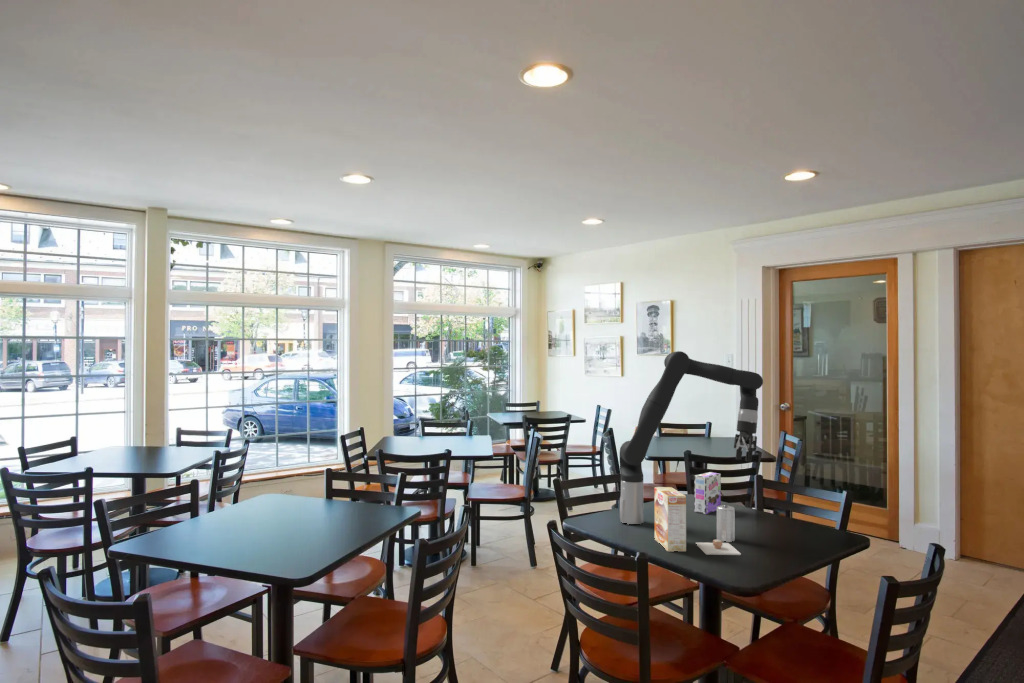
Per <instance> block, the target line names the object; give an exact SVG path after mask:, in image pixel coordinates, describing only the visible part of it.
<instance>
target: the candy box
mask: <svg viewBox="0 0 1024 683" xmlns="http://www.w3.org/2000/svg"><path fill="white" fill-rule="evenodd" d="M721 475H722V474H721V473H717V472H713V471H709V472H704V473H700V474H695V475H694V477H693V478H694V482H693V484H694V485H693V486H694V487H693V488H694V489H693V490H694V491H693V492H694V493H693V497H694V501H693V502H694V504H693V512H694V513H698V514H702V515H708V514H711V513H713V512H717V506H719V505H722V503H721V502H722V493H721V492H722V489H721V488H722V486H721V485H722V484H721V483H722V481H721V480H722V479H721V478H722V477H721Z"/></svg>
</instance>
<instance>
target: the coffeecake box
mask: <svg viewBox="0 0 1024 683" xmlns="http://www.w3.org/2000/svg"><path fill="white" fill-rule="evenodd" d="M653 492H654V538H655V539H654V538H653V539H654V541H655V542H657V543H658V544H659V543H660V544H661V545H662V546H663V547H664V548H665V549H664V550H666V552H668V553H672V552H673V553H675V552H674V551H678V552H687V496H686V495H685V494H683V493H682V492H680V491H678V490H677V489H675V488H673V487H672V486H656V487H655V486H654V491H653ZM660 544H659V545H660ZM661 545H660V546H661ZM662 546H661V547H662ZM663 547H662V548H663Z"/></svg>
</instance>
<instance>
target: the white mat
mask: <svg viewBox="0 0 1024 683" xmlns="http://www.w3.org/2000/svg"><path fill="white" fill-rule="evenodd" d="M696 544H697V545H696ZM695 545H696V546H697V547H698V548H699V549H700V550H701V551H702V552H703V553H704V554H705V555H707V556H708V555H715V556H716V555H718V556H723V555H724V556H741V555H742V553H741V552H740V551H739V550H737V549H736V548H735V547H734V546H732V544H730V542H722V546H721V549H716V548H714V545H713V542H697V541H696V542H695Z"/></svg>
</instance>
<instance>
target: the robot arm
mask: <svg viewBox="0 0 1024 683" xmlns="http://www.w3.org/2000/svg"><path fill="white" fill-rule="evenodd" d="M663 364H664V367H665V368H664V371H663V373H662V376H661V377H660V379H659V380H658V382H657V384H656V385H655V386H654V387H653V388H652V390H651V391H650V392H649V395H648V396H647V398H646V400H645V402H644V404H643V406H642V407H641V411H640V414H639V418H638V423H637V427H636V430H635V432H634V434H633V435H632V437H631V439H629V440H628V441H625V442H623V443H622V444H621V445H620V447H619V448H620V449H619V473H620V497H619V521H620V523H621V522H622V523H627V524H626V525H629V524H640V523H643V524H644V472H643V467H642V462H643V461H644V460H645V458H646V456H647V453H648V450H649V447H650V445H651V442H652V439H653V437H654V435H655V433H656V432H657V429H658V428H659V427H660V424H661V423H662V420H663V418H664V417H665V415H666V413H667V411H668V409H669V407H670V404H671V402H672V399H673V397H674V395H675V392H676V390H677V387H678V385H679V383H680V382H681V380H682V378H683V377H684V376H685V375H690V376H695V377H699V378H704V379H707V380H710V381H715V382H718V383H722V384H725V385H730V386H739V392H740V393H739V394H740V395H739V396H740V401H739V410H738V414H737V415H738V416H737V423H736V431H737V432H739V434H738V433H736V434H735V436H734V443H733V449H735V460H738V461H741V460H742V457H743V449H744V448H745V462H748V463H751V462H752V460H753V453H754V452H756V451H757V443H758V442H757V440H758V437H757V436H756V435H755V434H756V433H757V428H758V419H759V417H758V416H759V415H758V414H759V412H758V410H759V398H758V397H757V390H758V389H760V388H761V387H762V386H763V384H764V379H763V377H762V376H761V375H760V374H759V373H757V372H754V371H749V370H743V369H742V370H741V369H736V368H734V367H729V366H725V365H720V364H716V363H710V362H703V361H699V360H695V359H691V358H690V357H689V355H688V354H687V353H686V352H684V351H679V350H678V351H673V352H670V353H669V354H667V355H666V357H665V358H664V360H663ZM622 523H621V524H622ZM640 525H641V524H640Z"/></svg>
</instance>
